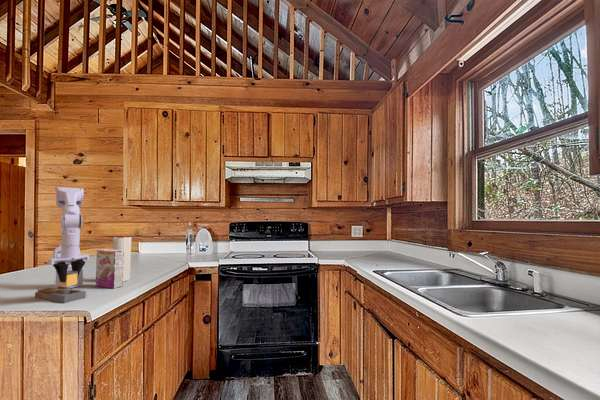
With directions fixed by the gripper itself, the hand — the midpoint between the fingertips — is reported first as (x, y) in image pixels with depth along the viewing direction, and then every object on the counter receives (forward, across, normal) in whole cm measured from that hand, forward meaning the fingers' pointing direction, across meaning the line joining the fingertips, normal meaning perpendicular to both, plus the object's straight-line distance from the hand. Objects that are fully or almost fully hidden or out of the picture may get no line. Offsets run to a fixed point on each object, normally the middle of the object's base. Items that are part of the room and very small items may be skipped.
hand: (68, 281), depth 124 cm
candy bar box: (+7, +21, +4) cm, 23 cm away
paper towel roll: (+7, +31, +10) cm, 33 cm away
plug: (+2, 0, 0) cm, 2 cm away
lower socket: (+7, 0, 0) cm, 7 cm away
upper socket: (+7, +1, +9) cm, 11 cm away
